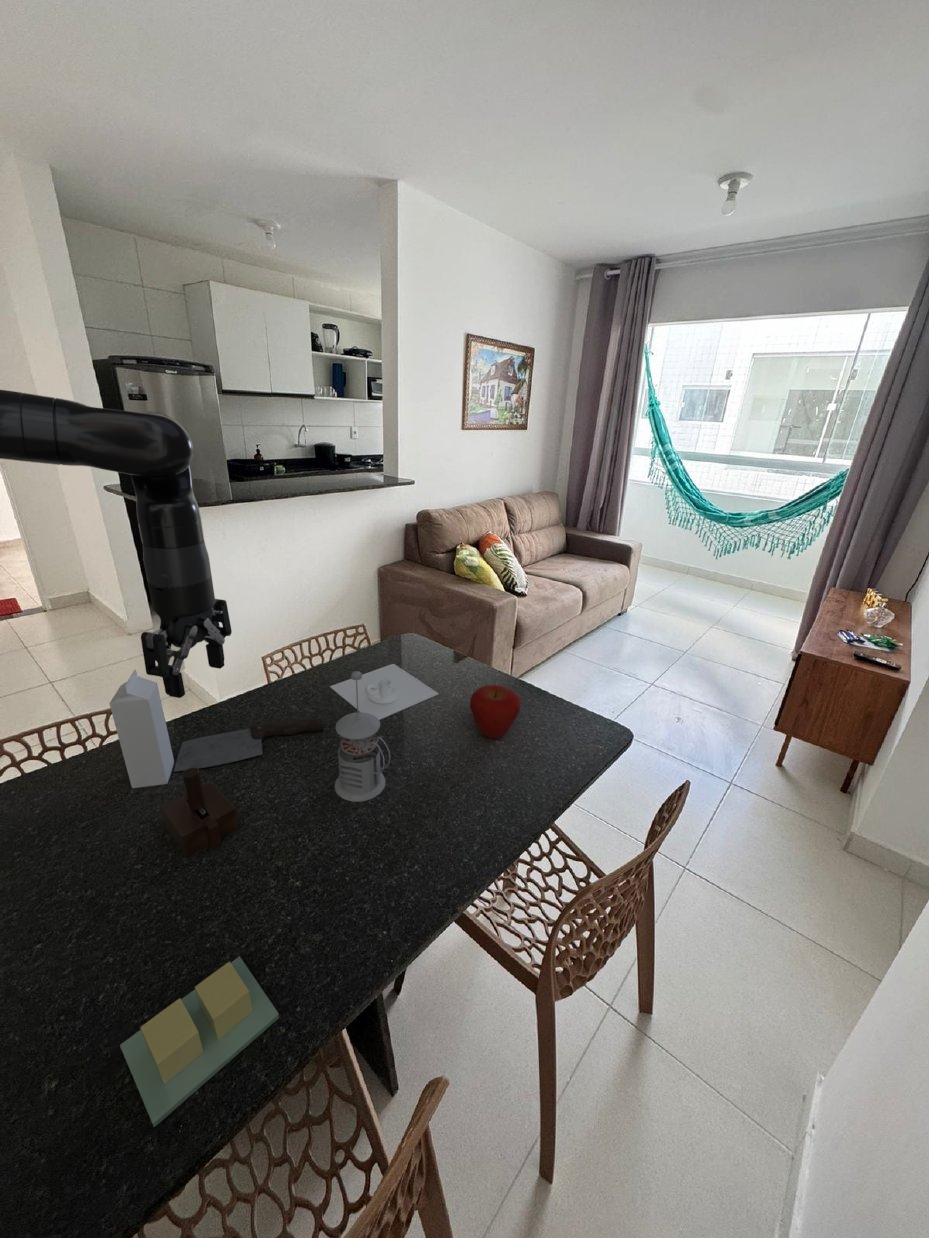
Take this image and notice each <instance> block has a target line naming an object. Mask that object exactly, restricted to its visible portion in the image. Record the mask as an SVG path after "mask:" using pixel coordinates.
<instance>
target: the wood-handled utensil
mask: <svg viewBox="0 0 929 1238" xmlns="http://www.w3.org/2000/svg"><path fill="white" fill-rule="evenodd" d="M182 779H183V783H184V789H186V794H187V798H188V803H189V808H190V809H191V810H194V811H195V812H196V813H197V815H198V816H199V817H200V818H201V820H202V819H204V818H205V817H207V816H206V812H205V811H204V810H203V807H204V805H205V798H204V793H203V788H202V786H203V784H202V779H201V773H200V768H199V769H198V768H189V769H187V770H184V771H182Z"/></svg>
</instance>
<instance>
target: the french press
mask: <svg viewBox="0 0 929 1238" xmlns="http://www.w3.org/2000/svg"><path fill="white" fill-rule="evenodd" d="M362 675H363V674H362V672H360V671H359V670H354V671H353V672H351V675H350V677H351V678H350V679H353V680H356V696H357V709H356V712H351V713H348V714H346V715H344V716H342V717H340V719H339V720H338V721H337V722H336V724H335V730H336V733H337V735H339V736H340V737H341V739H340V741H339V745H338V746H339V748H338V751H337V762H338V777H337V778H336V779H335V782H334V786H333V787H334V790H335V793H336V795H338V796H339V797H340V798H341V799H343V800H346V801H349V802H365V801H366V802H367V801H369V800H372V799H374V798H376V797H378V795H380V794H382V791H384V789H385V787H386V780H387V779H386V778H385V775H384V774H383V771H384V770H385V769H386V768H388V767H389V766H390V764H391V751H390V749H389V746H388V745H387V743H386V741H385V740H384V739H383V738H382V737H381V736H376V734H377V732H378V731H379V730H380V729H381V728H380V727H381V721H380V720H379V719H378V718H377V717H375V716H374V715H372V714H369V713H361V712H359V711H358V690H357V680H360V679H361V678H362ZM379 739H380V741H382V742H383V744H384V746H385V748H386V750H387V753H388V763H387V764H385V761H386V760H385V756H384V753H383V751H382V749H381V746H380V744H379ZM371 755H372V756H371ZM367 756H370V757H367ZM381 756H382V767H381ZM361 757H365V758H361ZM354 758H357V759H354ZM358 758H359V759H358Z"/></svg>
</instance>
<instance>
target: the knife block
mask: <svg viewBox="0 0 929 1238" xmlns="http://www.w3.org/2000/svg"><path fill="white" fill-rule="evenodd" d="M202 788H203V793H204V798H205V805H204V807H203V810H204V811H205V812H206V816H207V817H205V818H204V819H202V820H201V818H200V817H199V816H198V815H197V813H196V812H195V811H194V810H191V809H190V808H189V803H188V798H187V794H186V789H185V788H184V789H182V790H180V791H179V796H180V797H178V798H175V799H173V800H171V801H169V802H167V803H165V804H163V805H161V806H160V807H159V808H160V812H161V817H162V820H163V824H164V827H165V829H166V831H167V832H168V834H170V836H171V837H172V839H173V840H174V841H175V843H176V844H177V846H178V847H179V849H180V850H181V852H182V853H183V854H184V856H185V857H186V858H188V857H190V856H193V855H194V854H196V853H198V852H200V851H202V850H203V849H205V848H207V847H208V846H210V847H211V849H212V850H214V851H215V850H216V849H217V848H220V847H221V846H222V845H223V843H222V839H223V838H224V837H226V836H228V835H229V834H231V833H233V832H235V831H236V830H238V829H240V827H239V821H238V814H237V810H236V807H235V806H234V805H233V804H232V802H231V801H230V800H229V799H228V798H227V797H226V796H225V794H224V793H223V792H222V791H220V789H219V788H218V787H217V785H216V784H214V783H213V781H211V782H209V783H207V784H205V785H202Z"/></svg>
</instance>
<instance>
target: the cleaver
mask: <svg viewBox="0 0 929 1238" xmlns="http://www.w3.org/2000/svg"><path fill="white" fill-rule="evenodd" d="M322 731H324V720H323V718H320V717H317V718H316V717H312V718H299V719H298V718H297V719H288V720H280V721H273V722H266V723H265V722H264V723H260V724H255V725H254V724H253V725H252V726H251V727H250V728H244V729H238V730H233V731H227V732H223V733H222V732H221V733H217V734H211V735H206V736H201V737H196V738H193V739H188V740H184V741H182V742H181V745H180V748H179V750H178V754H177V758H176V761H175V762H174V763H175V764H174V767H173V773H174V772H184V771H185V770H187V769H189V768H198V769H199V770H200V769H205V768H210V767H216V766H221V765H225V764H231V763H234V762H239V761H244V760H246V759H250V758H254V757H257V756H262V755H263V754H264V752H263V741H264V740H265V739H266V738H268V737H272V736H291V735H293V736H294V735H297V734H301V733H309V732H322Z"/></svg>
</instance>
